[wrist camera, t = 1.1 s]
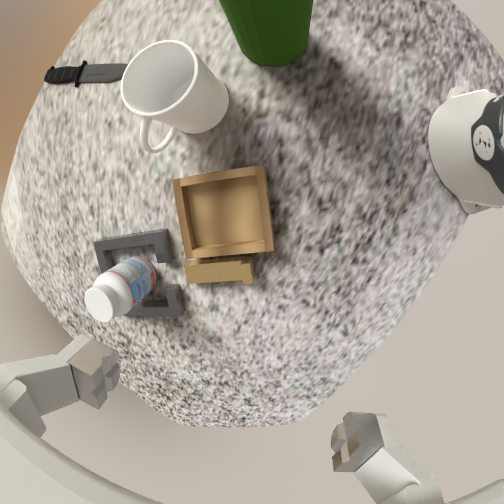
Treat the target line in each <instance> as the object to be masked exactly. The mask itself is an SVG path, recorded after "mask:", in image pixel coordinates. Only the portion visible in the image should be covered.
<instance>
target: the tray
mask: <svg viewBox="0 0 504 504" xmlns="http://www.w3.org/2000/svg"><path fill="white" fill-rule="evenodd" d="M172 181H173V187H174V194H175V200H176V206H177V212H178V218H179V224H180V229H181V234H182V240H183V245H184V250H185V255H186V259H192V258H203V257H213V256H224V255H235V254H246V253H256V252H267V251H274V247H275V240H274V232H273V223H272V215H271V207H270V199H269V191H268V183H267V176H266V168H265V166H264V165H259V166H252V167H244V168H238V169H231V170H224V171H218V172H212V173H206V174H201V175H195V176H190V177H185V178H180V179H175V180H172Z"/></svg>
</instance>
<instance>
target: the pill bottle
mask: <svg viewBox="0 0 504 504" xmlns="http://www.w3.org/2000/svg"><path fill="white" fill-rule="evenodd" d="M155 284H156V273H155V270H154V268H153V266H152V265H151V264H150V263H149V262H148V261H147V260H146V259H144V258H142V257H139V256H132V257H129V258H127V259H126V260H124V261H122V262H121V263H119V264H117V265H116V266H114V267H112V268H111V269H109V270H107V271H106V272H104V273H102V274H101V275H100V276H99V277H98V278H97V279H96V281H95V283H94V285H93V286H92V287H91V288H90V289H88V290H87V292H86V294H85V304H86V307H87V309H88V311H89V313H90V314H91V315H92V316H93V317H94V318H95V319H96V320H98V321H100V322H104V323H106V322H109V321H111V320H112V319H113V318H114V317H119V316H123V315H125V314H127V313H128V312H129V311H130V310H131V309H132V308H133V307H134V306H135V305H136V304H138V303H139V302H140V301H141V300H142V299H143V298H144V297H145V296H146V295H147V294H148V293H150V292H151V291H152V290H153V288H154V287H155Z"/></svg>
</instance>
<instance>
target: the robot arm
mask: <svg viewBox="0 0 504 504" xmlns="http://www.w3.org/2000/svg"><path fill="white" fill-rule="evenodd" d="M428 143H429V151H430V156H431V159H432V163H433V165H434V168H435V170H436V172H437V174H438V176H439V178H440V179H441V181H442V182H443V184H444V185H445V186H446V187H447V188H448V189H449V190H450V191H451V192H452V193H453V194H454V195H455V196H456V197H457V198H458V200H459V202H460V204H461V206H462V208H463V210H464V211H465V212H466V213H467V214H474V213H477V212H480V211H483V210H485V209H488V208H491V207H494V208H501V207H502V205H504V94H503V95H500V96H498V97H497V95H496V94H494V93H490V92H489V91H488V90H486V89H483V90H478V91H473V92H468V91H465V90H463V89H461V88H459V87H454V88H451V89H450V91H449V93H448V96H447V100H446V101H445V102H444V103H443V104H442V105H441V106H439V107H438V108H437V110H436V111H435V112H434V114H433V116H432V118H431V121H430V125H429V132H428ZM475 204H476V205H475ZM118 360H119V352H118V351H117V350H115V349H113V348H111V347H109V346H107V345H105V344H103V343H101V342H99V341H98V340H96V339H93V338H91V337H90V336H88V335H86V334H84V333H83V334H80V335H79V336H77V337H76V338H75V339H74V340H73V341H72V342H71V343H70V344H69V345H67V346H66V347H65V348H64V349H63V350H62V351H61V352H60V353H59V354H58V355H56V356H55V355H54V354H52V355H47V356H42V357H36V358H31V359H26V360H20V361H15V362H8V363H3V364H1V365H0V504H163V503H160V502H158V501H155V500H152V499H149V498H147V497H144V496H142V495H139V494H137V493H134V492H132V491H130V490H128V489H125V488H123V487H121V486H119V485H117V484H115V483H112V482H111V481H109V480H107V479H105V478H103V477H101V476H99V475H97V474H95V473H94V472H92V471H90V470H88V469H87V468H85V467H83V466H81V465H80V464H78V463H76V462H75V461H73V460H72V459H70V458H68V457H67V456H65V455H64V454H62V453H61V452H59V451H58V450H57V449H55V448H54V447H52V446H51V445H49V444H48V443H47V442H45V441H44V440H43V439H41V436H42V435H43V434H44V432H45V431H46V426H45V424H44V422H43V420H42V419H41V417H40V416H42V415H45V414H47V413H50V412H52V411H55V410H58V409H60V408H63V407H65V406H67V405H70V404H72V403H75V402H77V401H79V399H80V400H81V401H83V402H85V403H87V404H89V405H91V406H93V407H95V408H97V409H100V407H101V406H102V405H103V403H104V402H105V400H106V399H107V392H108V391H111V390H113V389H114V388H115V387H116V385H117V383H118V380H119V378H120V367H119V365H118V364H117V361H118ZM331 448H332V449H333V450H334V452H335V454H334V456H333V457H332V460H333V470H334V472H354V474H355V475H356V477H357V478H358V479H359V481H360V482H361V483H362V485H363V486H364V487H365V489H366V490H367V491H368V493H369V494H370V496H371V497H372V498H373V500H374V501H375V502H376V504H444V501H443V497H442V494H441V491H440V487H439V484H438V481H437V478H435V477H434V476H433V475H432V474H431V473H430V472H429V471H427V470H426V469H425V468H424V467H423V466H422V465H421V464H420V463H418V462H417V461H416V460H415V459H414V458H413V457H412V456H411V455H410V454H408V453H407V452H406V451H405V450H404V449H403V448H402V447H401V446H397V444H396V441H395V438H394V435H393V431H392V429H391V425H390V422H389V419H388V417H387V415H386V414H375V413H374V414H372V413H358V412H349V413H347V414H346V415H345V416H344V417H343V423H341V424H339V425H337V426H336V428H335V429H334V431H333V433H332V437H331ZM446 504H504V479H500V480H497V481H495V482H493V483H491V484H489V485H487V486H485V487H483V488H481V489H479V490H477V491H475V492H473V493H470V494H468V495H466V496H464V497H461V498H458V499H456V500H453V501H451V502H448V503H446Z"/></svg>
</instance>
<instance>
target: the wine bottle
mask: <svg viewBox="0 0 504 504" xmlns="http://www.w3.org/2000/svg"><path fill="white" fill-rule="evenodd" d="M219 1H220V4H221V6H222V8H223V10H224V12H225V14H226V17H227V19H228V21H229V23H230V26H231V28H232V30H233V32H234V35H235V37H236V39H237V42H238V44H239V46H240V48H241V50H242V52H243V54H245V55H246V56H247V57H248V58H249V59H250V60H252V61H254V62H256V63H258V64H262V65H265V66H281V65H285V64H288V63H291V62H293V61H294V60H296V59H298V58H299V57H300V56H301V55H302V54H303V53H304V51H305V49H306V47H307V42H308V35H309V28H310V21H311V13H312V6H313V0H219Z"/></svg>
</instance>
